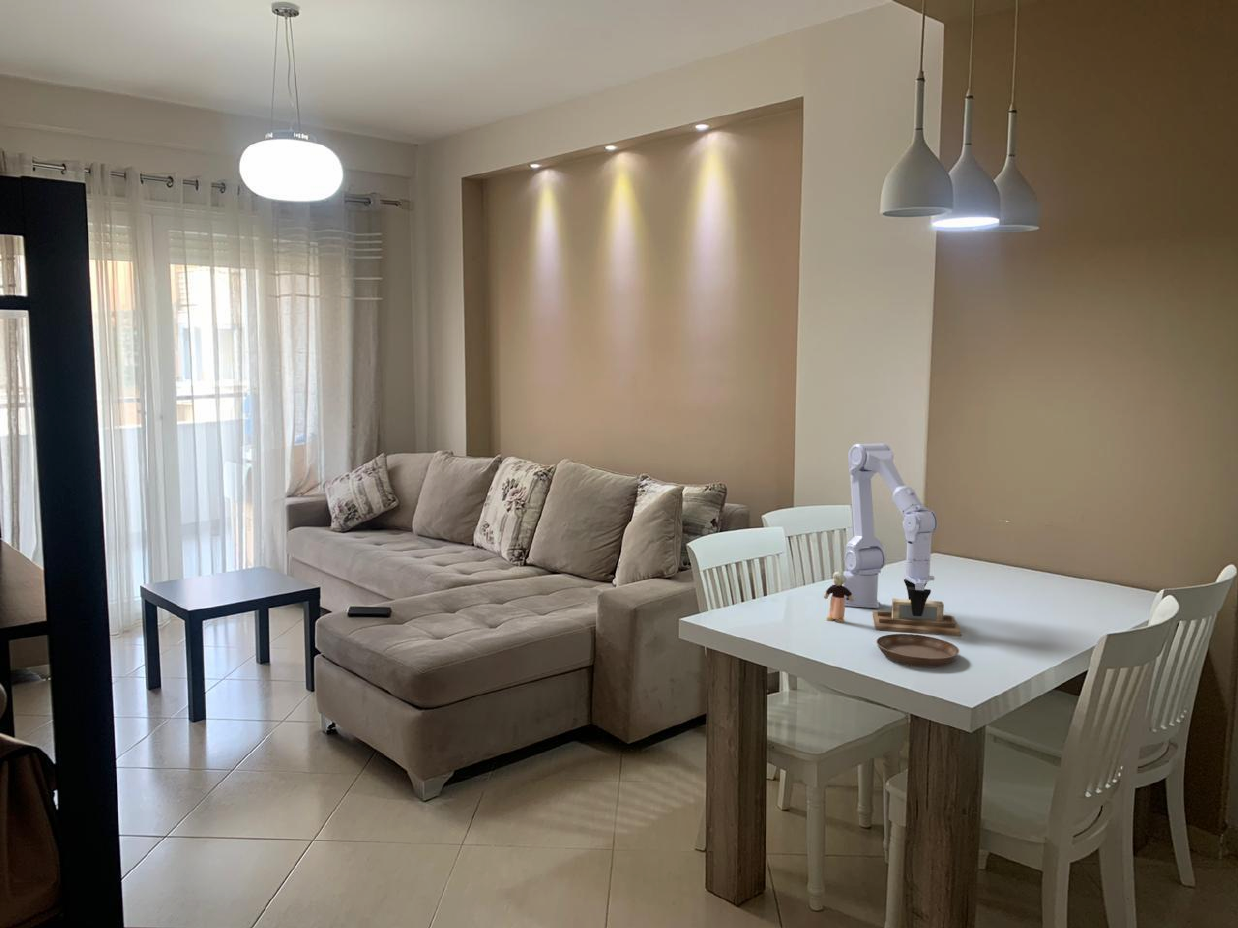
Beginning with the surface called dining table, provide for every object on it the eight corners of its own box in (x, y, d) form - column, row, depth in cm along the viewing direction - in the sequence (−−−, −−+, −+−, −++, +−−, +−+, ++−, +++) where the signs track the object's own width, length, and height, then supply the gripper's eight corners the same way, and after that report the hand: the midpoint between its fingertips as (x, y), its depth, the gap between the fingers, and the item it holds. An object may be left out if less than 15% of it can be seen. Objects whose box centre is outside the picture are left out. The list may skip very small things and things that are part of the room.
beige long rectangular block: (892, 621, 228) (893, 601, 228) (891, 617, 231) (892, 598, 231) (942, 624, 226) (943, 604, 225) (941, 621, 229) (942, 601, 228)
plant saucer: (940, 645, 213) (941, 633, 213) (971, 671, 196) (972, 657, 195) (865, 645, 213) (866, 632, 212) (890, 671, 195) (890, 657, 195)
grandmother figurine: (821, 620, 232) (823, 572, 230) (823, 616, 235) (825, 568, 234) (852, 624, 229) (854, 574, 227) (854, 620, 232) (856, 571, 231)
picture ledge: (875, 629, 224) (875, 621, 224) (872, 614, 238) (872, 607, 238) (961, 635, 220) (961, 627, 220) (953, 620, 233) (953, 612, 233)
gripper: (938, 565, 219) (935, 620, 220) (931, 553, 233) (929, 605, 235) (908, 564, 220) (905, 618, 222) (903, 552, 235) (900, 603, 236)
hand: (915, 611), depth 228 cm, fingers open, 7 cm apart
